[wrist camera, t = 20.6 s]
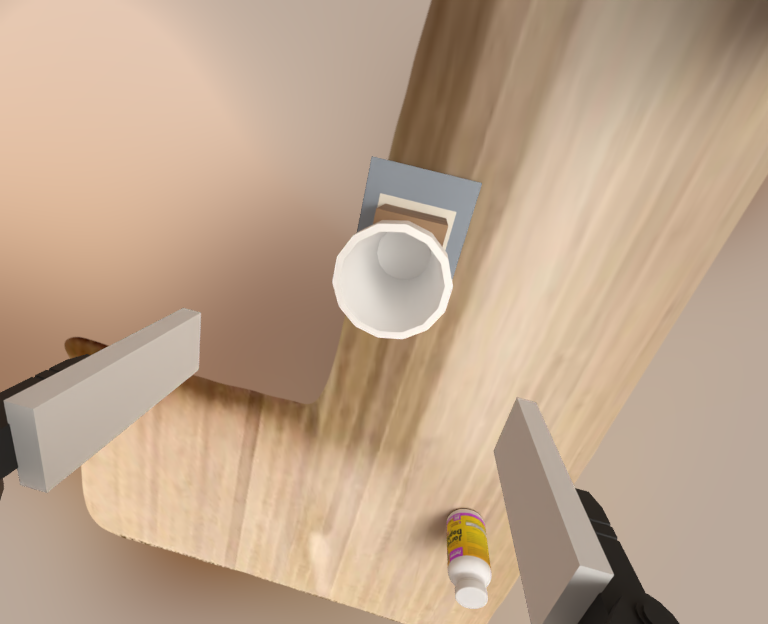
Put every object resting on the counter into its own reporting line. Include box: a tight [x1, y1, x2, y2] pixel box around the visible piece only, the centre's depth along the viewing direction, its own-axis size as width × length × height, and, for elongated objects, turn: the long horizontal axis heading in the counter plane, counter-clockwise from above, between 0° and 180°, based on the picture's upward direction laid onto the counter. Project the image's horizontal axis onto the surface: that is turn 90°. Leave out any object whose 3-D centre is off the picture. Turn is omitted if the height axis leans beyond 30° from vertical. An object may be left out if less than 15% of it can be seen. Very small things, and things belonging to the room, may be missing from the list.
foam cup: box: [332, 220, 453, 339], centre depth 34 cm, size 10×9×13 cm
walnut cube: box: [373, 204, 448, 247], centre depth 44 cm, size 8×8×8 cm
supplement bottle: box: [447, 509, 491, 609], centre depth 59 cm, size 7×7×13 cm
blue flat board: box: [357, 156, 482, 279], centre depth 48 cm, size 18×14×1 cm
